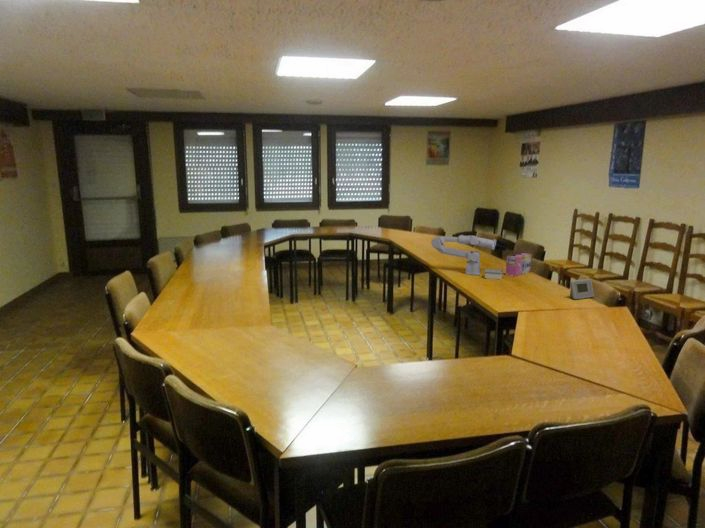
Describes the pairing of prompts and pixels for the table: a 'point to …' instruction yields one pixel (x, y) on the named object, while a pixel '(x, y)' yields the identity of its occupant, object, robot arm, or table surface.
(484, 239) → the robot arm
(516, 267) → the gum box
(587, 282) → the digital clock
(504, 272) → the lid
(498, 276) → the tub
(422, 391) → the table surface
